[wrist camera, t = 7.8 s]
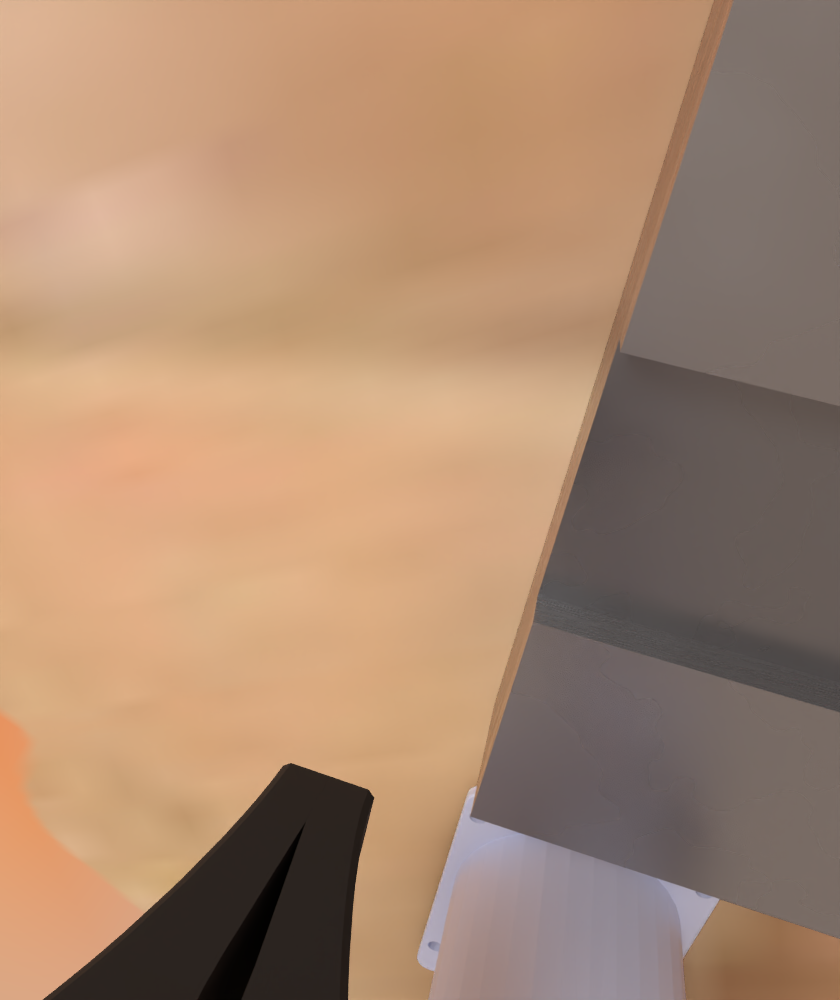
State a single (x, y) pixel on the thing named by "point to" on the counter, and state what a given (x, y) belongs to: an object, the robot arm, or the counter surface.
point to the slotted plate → (704, 513)
